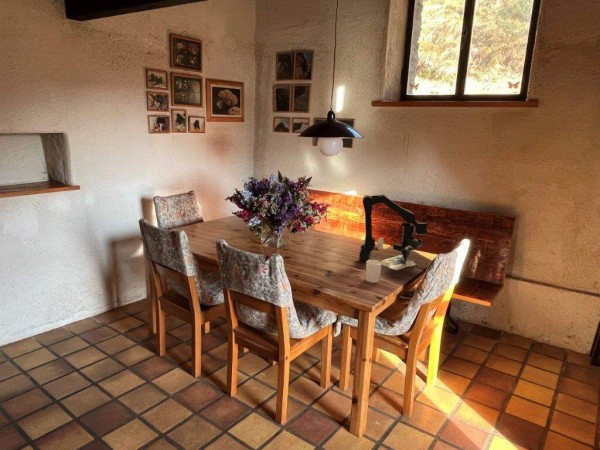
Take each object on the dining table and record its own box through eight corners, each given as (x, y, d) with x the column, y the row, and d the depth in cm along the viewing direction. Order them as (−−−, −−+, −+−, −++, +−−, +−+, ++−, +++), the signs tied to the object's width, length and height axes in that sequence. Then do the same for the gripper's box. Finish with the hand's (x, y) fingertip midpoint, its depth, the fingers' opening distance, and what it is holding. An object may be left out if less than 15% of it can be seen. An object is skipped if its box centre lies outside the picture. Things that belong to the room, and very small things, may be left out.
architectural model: (374, 249, 279) (375, 238, 277) (378, 246, 284) (379, 236, 283) (379, 250, 277) (380, 239, 275) (383, 247, 283) (384, 237, 281)
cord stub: (410, 266, 243) (410, 262, 242) (396, 261, 250) (397, 257, 249) (413, 265, 245) (413, 261, 244) (399, 261, 252) (400, 256, 251)
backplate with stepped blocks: (396, 271, 236) (397, 265, 235) (381, 266, 245) (381, 259, 244) (415, 265, 248) (416, 259, 247) (400, 260, 256) (401, 254, 255)
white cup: (378, 277, 227) (379, 259, 224) (381, 283, 219) (383, 264, 217) (363, 277, 226) (365, 259, 224) (366, 283, 219) (367, 264, 216)
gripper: (409, 239, 231) (407, 266, 235) (429, 234, 243) (426, 260, 246) (393, 234, 239) (390, 261, 243) (413, 230, 251) (410, 255, 255)
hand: (405, 259), depth 247 cm, fingers closed, pressing on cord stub
